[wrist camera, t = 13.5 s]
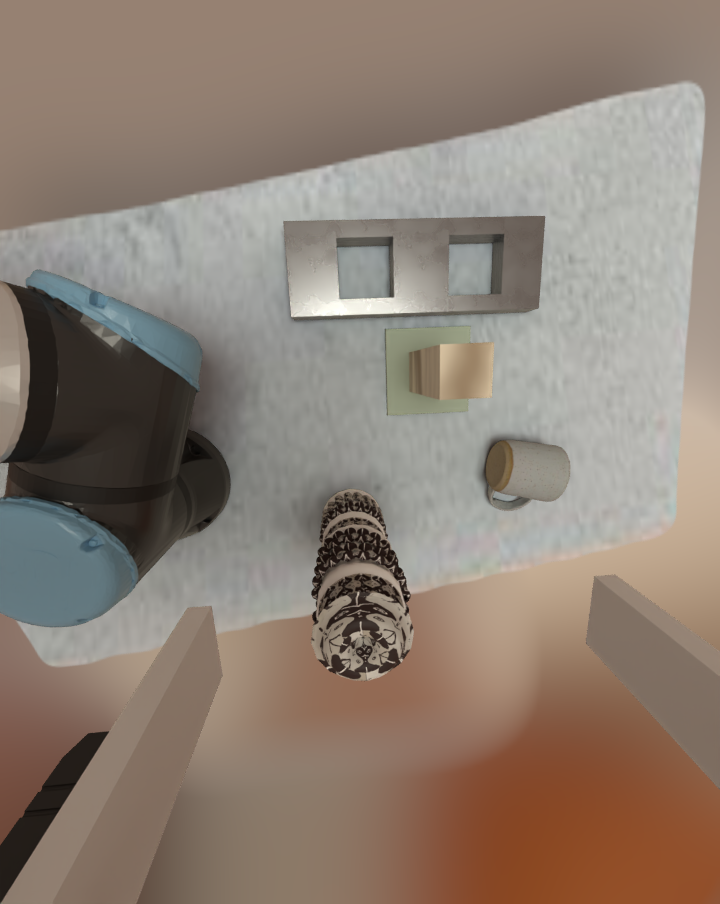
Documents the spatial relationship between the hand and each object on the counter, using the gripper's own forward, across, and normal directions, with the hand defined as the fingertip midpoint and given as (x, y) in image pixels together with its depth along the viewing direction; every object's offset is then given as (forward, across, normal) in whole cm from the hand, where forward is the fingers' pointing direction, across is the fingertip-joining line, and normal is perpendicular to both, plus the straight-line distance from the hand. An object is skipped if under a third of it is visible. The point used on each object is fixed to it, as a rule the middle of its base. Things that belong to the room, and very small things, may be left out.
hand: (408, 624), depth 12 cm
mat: (+37, -10, -8) cm, 39 cm away
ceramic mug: (+37, -22, +7) cm, 44 cm away
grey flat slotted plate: (+37, -8, -20) cm, 43 cm away
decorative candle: (+37, +1, +12) cm, 39 cm away
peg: (+36, -10, -8) cm, 38 cm away
